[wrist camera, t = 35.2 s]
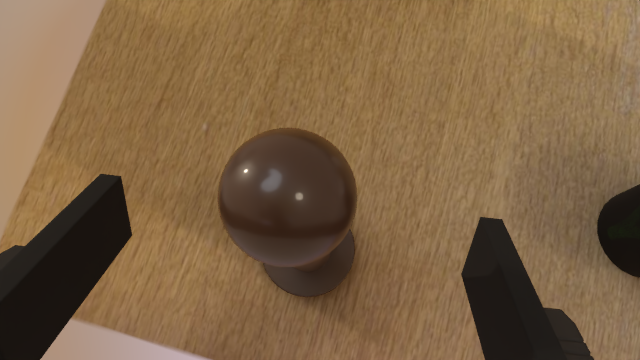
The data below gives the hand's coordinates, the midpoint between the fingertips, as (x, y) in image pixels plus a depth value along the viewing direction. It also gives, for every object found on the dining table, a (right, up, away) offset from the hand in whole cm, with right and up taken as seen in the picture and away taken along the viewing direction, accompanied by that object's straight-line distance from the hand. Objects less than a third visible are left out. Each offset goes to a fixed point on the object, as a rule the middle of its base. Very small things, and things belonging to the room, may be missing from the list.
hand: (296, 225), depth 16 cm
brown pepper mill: (0, -3, +11) cm, 12 cm away
